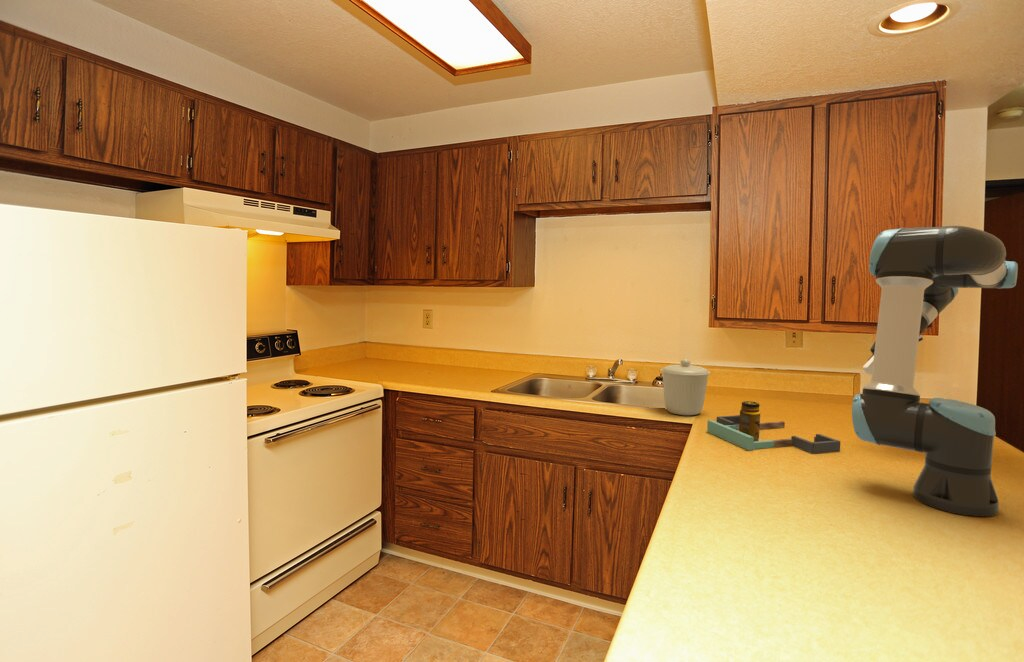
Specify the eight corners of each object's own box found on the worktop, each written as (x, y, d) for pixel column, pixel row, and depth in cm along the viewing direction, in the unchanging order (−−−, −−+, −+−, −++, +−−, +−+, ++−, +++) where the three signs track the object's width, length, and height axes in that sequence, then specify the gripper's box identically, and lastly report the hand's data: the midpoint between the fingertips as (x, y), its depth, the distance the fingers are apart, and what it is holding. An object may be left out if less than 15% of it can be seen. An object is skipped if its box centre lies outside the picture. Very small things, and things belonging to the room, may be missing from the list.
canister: (659, 416, 200) (661, 361, 198) (658, 405, 218) (660, 354, 216) (711, 420, 196) (713, 363, 194) (705, 408, 213) (707, 356, 211)
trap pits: (759, 421, 194) (760, 413, 194) (840, 451, 161) (841, 441, 160) (715, 425, 189) (716, 416, 189) (789, 455, 156) (790, 445, 156)
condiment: (765, 441, 170) (767, 404, 169) (743, 443, 168) (745, 406, 167) (748, 435, 177) (750, 399, 176) (727, 437, 175) (729, 401, 173)
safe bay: (731, 430, 183) (732, 418, 182) (775, 448, 163) (776, 435, 163) (707, 431, 180) (707, 420, 180) (748, 450, 161) (749, 437, 160)
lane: (781, 426, 187) (782, 421, 187) (827, 443, 169) (827, 436, 169) (732, 430, 182) (733, 424, 182) (773, 447, 164) (774, 441, 163)
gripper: (943, 329, 159) (893, 382, 156) (901, 326, 172) (854, 376, 168) (931, 310, 157) (880, 364, 154) (890, 309, 170) (842, 359, 167)
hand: (866, 370), depth 161 cm, fingers closed
